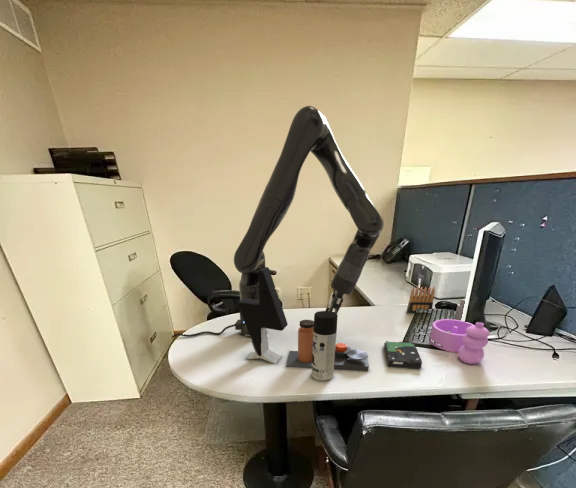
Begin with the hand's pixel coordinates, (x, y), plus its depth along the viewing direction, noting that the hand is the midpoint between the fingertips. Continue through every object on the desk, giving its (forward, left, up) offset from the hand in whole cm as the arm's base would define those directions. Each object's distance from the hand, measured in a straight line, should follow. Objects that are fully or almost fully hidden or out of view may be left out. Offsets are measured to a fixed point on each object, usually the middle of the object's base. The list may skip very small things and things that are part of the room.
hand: (325, 321), depth 112 cm
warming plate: (+10, -11, -7) cm, 17 cm away
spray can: (0, -19, -11) cm, 22 cm away
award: (-20, -9, -11) cm, 24 cm away
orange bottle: (-6, -9, -10) cm, 15 cm away
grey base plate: (+7, -10, -11) cm, 16 cm away
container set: (+47, +5, -11) cm, 48 cm away
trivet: (-7, -9, -11) cm, 16 cm away
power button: (+5, -7, -7) cm, 11 cm away
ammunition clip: (+42, +42, -11) cm, 60 cm away
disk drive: (+26, -4, -11) cm, 28 cm away
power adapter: (+57, +32, -11) cm, 66 cm away
